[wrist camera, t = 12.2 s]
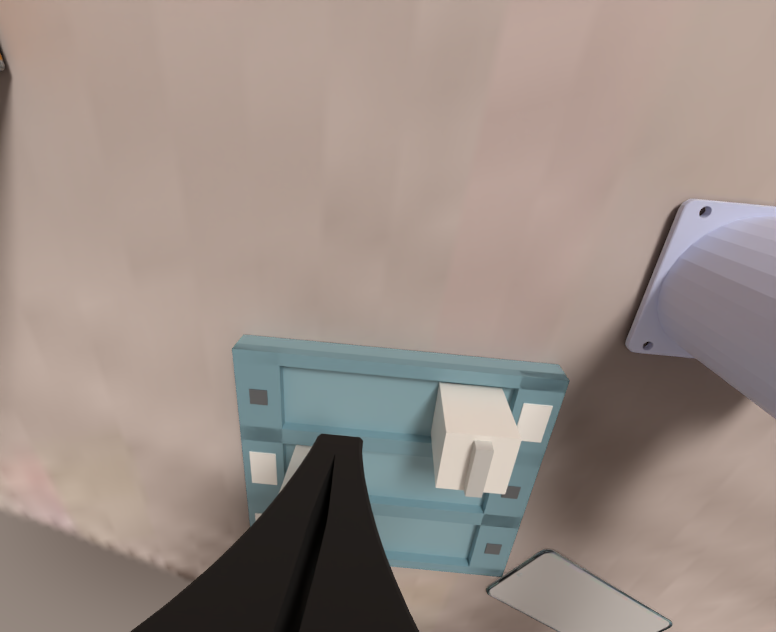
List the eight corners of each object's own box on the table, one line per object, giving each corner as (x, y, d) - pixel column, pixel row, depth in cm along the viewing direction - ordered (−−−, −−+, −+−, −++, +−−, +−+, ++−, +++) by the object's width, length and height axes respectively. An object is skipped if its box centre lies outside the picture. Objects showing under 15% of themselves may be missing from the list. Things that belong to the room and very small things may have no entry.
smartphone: (608, 658, 34) (483, 592, 31) (605, 651, 35) (482, 585, 31) (676, 625, 32) (548, 548, 28) (672, 617, 32) (546, 541, 29)
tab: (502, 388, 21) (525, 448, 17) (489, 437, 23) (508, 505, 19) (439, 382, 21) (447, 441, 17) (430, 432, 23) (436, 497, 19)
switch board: (558, 364, 22) (570, 381, 20) (497, 555, 29) (502, 578, 27) (243, 334, 22) (231, 349, 20) (260, 532, 29) (252, 553, 27)
